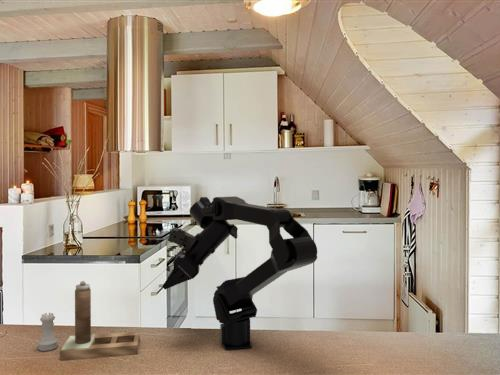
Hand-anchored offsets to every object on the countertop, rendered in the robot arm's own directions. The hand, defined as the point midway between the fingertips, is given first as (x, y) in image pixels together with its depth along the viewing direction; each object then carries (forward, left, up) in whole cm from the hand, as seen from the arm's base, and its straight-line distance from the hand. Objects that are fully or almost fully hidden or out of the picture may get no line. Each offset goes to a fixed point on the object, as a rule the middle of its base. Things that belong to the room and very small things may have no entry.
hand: (166, 283), depth 107 cm
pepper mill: (+19, +5, -11) cm, 23 cm away
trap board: (+15, +5, -14) cm, 21 cm away
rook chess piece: (+28, +1, -14) cm, 31 cm away
